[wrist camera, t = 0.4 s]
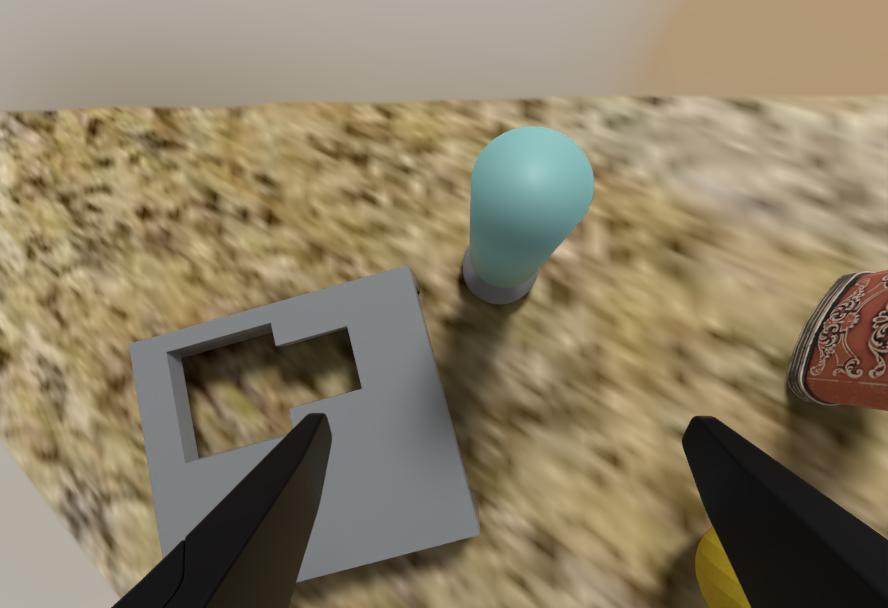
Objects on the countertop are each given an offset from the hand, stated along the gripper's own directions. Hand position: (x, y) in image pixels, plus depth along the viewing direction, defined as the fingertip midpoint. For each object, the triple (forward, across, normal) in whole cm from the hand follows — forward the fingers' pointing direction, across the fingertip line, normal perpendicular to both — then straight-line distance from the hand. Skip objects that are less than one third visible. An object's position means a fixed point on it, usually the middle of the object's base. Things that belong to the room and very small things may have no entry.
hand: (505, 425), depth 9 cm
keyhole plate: (+9, +10, +10) cm, 17 cm away
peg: (+14, -2, +3) cm, 15 cm away
